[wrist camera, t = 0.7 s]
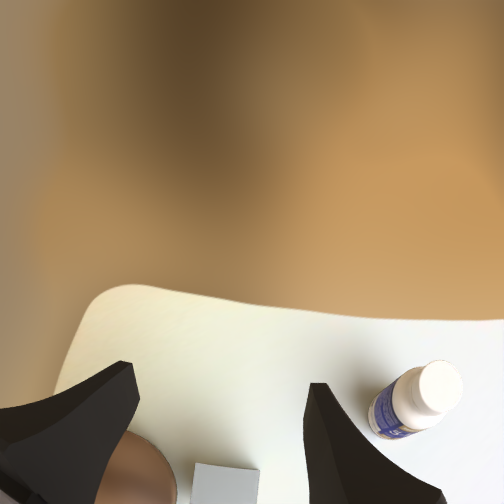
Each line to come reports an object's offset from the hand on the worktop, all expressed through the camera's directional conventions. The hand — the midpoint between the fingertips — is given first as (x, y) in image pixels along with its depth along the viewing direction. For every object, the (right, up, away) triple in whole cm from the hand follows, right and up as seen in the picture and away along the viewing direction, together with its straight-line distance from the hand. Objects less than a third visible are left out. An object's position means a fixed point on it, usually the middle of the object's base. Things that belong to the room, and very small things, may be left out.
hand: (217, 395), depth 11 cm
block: (0, -14, +8) cm, 16 cm away
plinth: (-10, -15, +7) cm, 19 cm away
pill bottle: (+14, -9, +12) cm, 21 cm away
